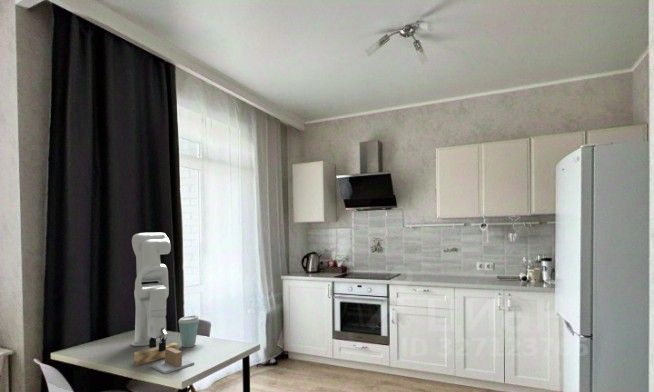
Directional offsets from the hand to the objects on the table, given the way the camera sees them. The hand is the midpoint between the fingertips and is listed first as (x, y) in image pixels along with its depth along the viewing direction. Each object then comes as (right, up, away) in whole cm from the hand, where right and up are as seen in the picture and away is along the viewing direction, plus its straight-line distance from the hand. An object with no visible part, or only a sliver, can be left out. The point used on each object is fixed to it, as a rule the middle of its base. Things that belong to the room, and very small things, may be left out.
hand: (157, 349), depth 185 cm
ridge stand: (+12, -4, -10) cm, 16 cm away
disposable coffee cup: (+8, -6, +19) cm, 22 cm away
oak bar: (0, -5, 0) cm, 5 cm away
